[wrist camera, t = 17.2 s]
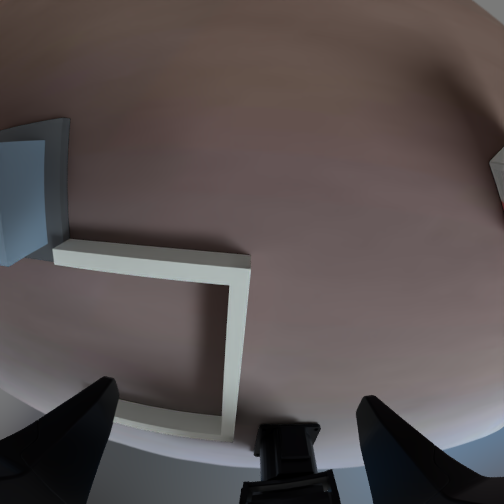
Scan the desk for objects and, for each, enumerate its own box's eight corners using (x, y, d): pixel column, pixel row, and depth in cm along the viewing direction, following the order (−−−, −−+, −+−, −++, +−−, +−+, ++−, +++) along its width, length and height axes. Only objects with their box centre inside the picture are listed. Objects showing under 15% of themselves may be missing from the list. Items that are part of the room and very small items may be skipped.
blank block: (45, 140, 16) (-1, 142, 11) (47, 243, 18) (8, 266, 14) (9, 145, 16) (-33, 150, 11) (13, 239, 18) (-25, 259, 13)
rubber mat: (71, 259, 20) (65, 263, 19) (10, 250, 20) (4, 254, 19) (70, 118, 16) (62, 117, 15) (6, 130, 16) (-2, 131, 15)
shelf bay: (234, 423, 26) (233, 442, 23) (105, 401, 25) (97, 417, 23) (250, 255, 20) (250, 269, 17) (69, 238, 19) (52, 248, 17)
